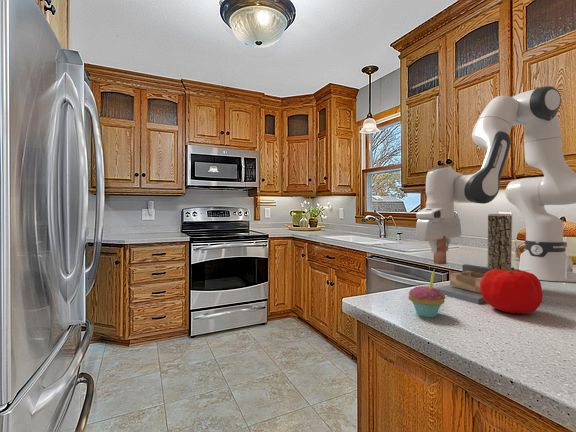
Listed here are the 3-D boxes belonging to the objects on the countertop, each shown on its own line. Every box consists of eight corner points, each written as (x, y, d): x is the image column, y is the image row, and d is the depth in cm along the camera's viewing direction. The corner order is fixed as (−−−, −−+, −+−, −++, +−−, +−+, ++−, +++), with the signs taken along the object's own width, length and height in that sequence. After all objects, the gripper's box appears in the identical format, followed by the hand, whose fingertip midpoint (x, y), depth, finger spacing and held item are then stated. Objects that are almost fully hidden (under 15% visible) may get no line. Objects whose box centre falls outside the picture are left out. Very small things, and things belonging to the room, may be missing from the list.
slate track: (466, 285, 108) (466, 264, 108) (511, 294, 96) (511, 271, 96) (433, 292, 99) (433, 269, 99) (478, 304, 87) (478, 277, 87)
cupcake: (449, 314, 79) (449, 267, 79) (437, 323, 73) (437, 272, 73) (416, 306, 85) (416, 263, 85) (402, 314, 79) (402, 267, 79)
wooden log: (515, 288, 103) (515, 214, 103) (492, 287, 105) (493, 214, 104) (505, 283, 110) (505, 213, 109) (484, 283, 111) (484, 213, 111)
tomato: (547, 323, 72) (548, 274, 72) (481, 314, 79) (481, 269, 79) (536, 308, 83) (537, 265, 83) (478, 301, 90) (478, 261, 89)
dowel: (438, 262, 111) (438, 234, 111) (448, 263, 108) (448, 235, 108) (431, 263, 109) (431, 235, 109) (441, 265, 106) (441, 236, 106)
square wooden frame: (468, 282, 105) (468, 270, 105) (500, 288, 96) (500, 276, 96) (450, 286, 100) (450, 273, 100) (482, 293, 91) (482, 279, 91)
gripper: (449, 211, 116) (449, 248, 116) (412, 213, 106) (413, 253, 106) (466, 211, 110) (466, 250, 111) (428, 213, 100) (429, 255, 101)
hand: (439, 251), depth 108 cm, fingers closed on dowel, 4 cm apart
